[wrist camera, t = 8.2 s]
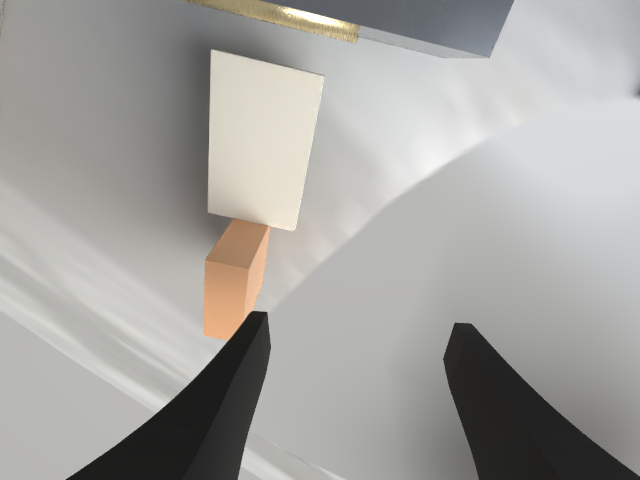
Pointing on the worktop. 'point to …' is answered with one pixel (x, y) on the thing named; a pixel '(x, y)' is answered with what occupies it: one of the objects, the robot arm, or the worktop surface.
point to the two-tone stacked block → (253, 174)
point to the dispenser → (387, 21)
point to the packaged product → (1, 12)
